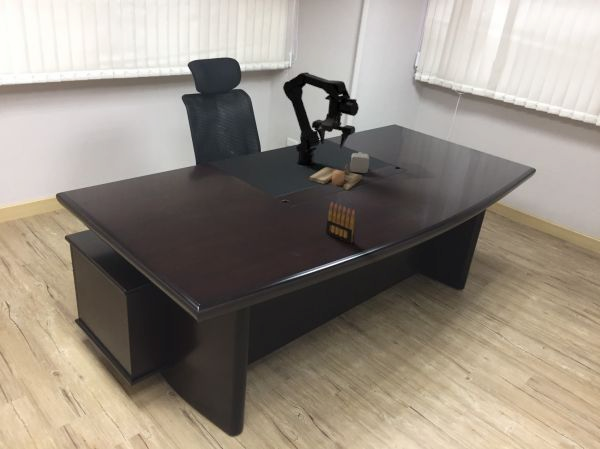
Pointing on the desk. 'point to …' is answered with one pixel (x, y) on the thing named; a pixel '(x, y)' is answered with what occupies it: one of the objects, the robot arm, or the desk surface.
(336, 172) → the tan rounded cone
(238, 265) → the desk surface
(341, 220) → the ammunition clip
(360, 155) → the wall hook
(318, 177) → the pale wood u-shaped block
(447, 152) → the desk surface
